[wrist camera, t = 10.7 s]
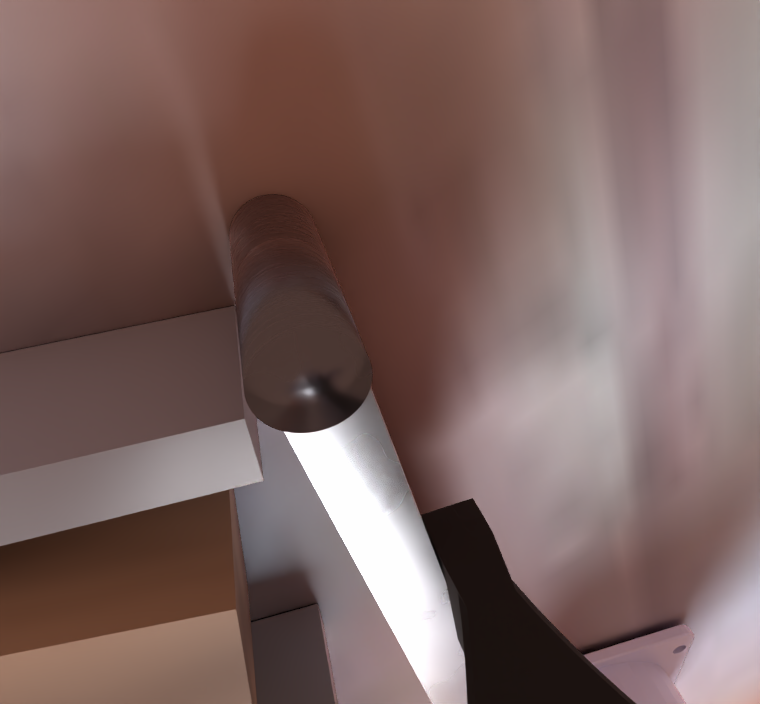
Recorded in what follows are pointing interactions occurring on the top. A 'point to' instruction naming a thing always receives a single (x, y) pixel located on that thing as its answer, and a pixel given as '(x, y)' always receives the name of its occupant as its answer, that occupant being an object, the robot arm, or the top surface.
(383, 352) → the top surface
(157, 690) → the link block
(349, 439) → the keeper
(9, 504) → the cradle
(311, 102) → the top surface
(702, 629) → the top surface
